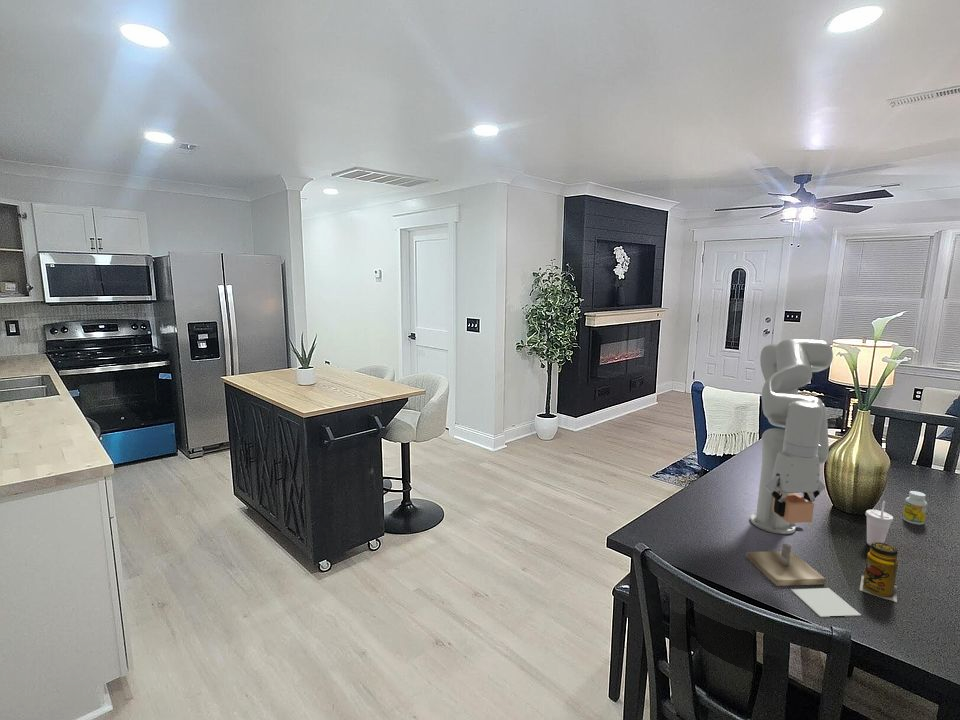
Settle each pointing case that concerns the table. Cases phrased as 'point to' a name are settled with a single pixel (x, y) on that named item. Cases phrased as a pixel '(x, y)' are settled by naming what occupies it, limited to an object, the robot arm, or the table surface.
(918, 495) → the supplement bottle
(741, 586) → the table surface
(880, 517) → the smoothie
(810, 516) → the peach open box
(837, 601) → the mat
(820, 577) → the stand
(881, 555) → the condiment
